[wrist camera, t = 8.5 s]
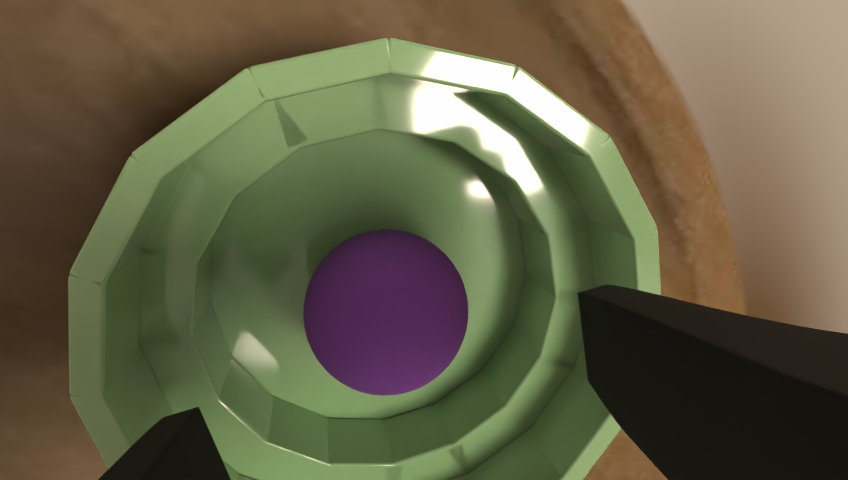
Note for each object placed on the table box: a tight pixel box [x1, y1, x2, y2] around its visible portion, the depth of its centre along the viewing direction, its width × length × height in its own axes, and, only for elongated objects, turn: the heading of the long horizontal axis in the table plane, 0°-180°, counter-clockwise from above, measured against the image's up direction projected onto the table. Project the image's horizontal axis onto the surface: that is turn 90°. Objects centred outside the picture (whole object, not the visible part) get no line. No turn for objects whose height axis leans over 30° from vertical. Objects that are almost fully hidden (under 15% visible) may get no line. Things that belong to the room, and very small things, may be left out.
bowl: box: [68, 37, 661, 480], centre depth 12 cm, size 12×12×4 cm
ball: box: [303, 229, 468, 396], centre depth 12 cm, size 4×4×4 cm
